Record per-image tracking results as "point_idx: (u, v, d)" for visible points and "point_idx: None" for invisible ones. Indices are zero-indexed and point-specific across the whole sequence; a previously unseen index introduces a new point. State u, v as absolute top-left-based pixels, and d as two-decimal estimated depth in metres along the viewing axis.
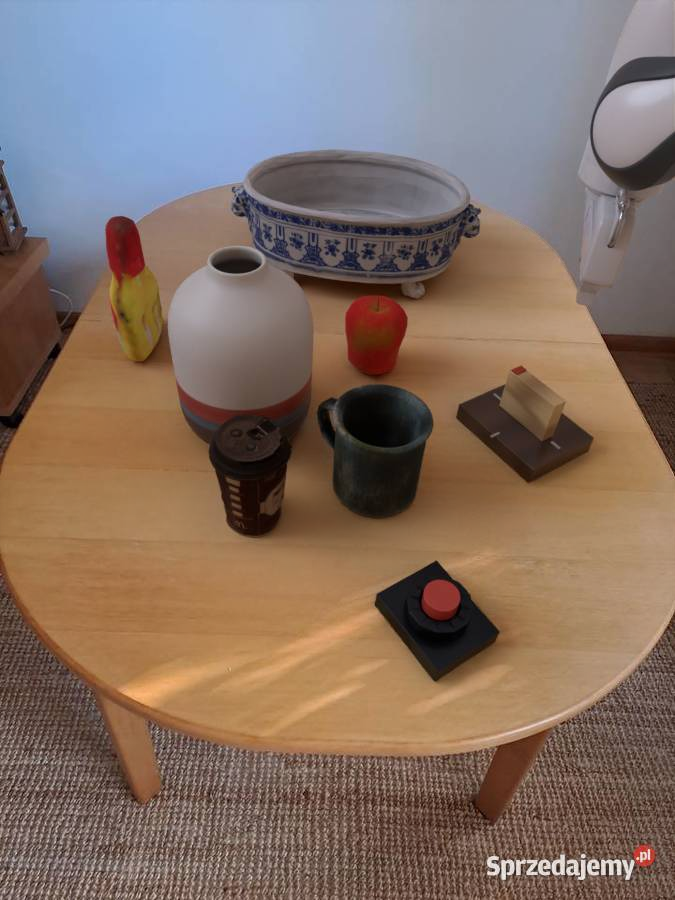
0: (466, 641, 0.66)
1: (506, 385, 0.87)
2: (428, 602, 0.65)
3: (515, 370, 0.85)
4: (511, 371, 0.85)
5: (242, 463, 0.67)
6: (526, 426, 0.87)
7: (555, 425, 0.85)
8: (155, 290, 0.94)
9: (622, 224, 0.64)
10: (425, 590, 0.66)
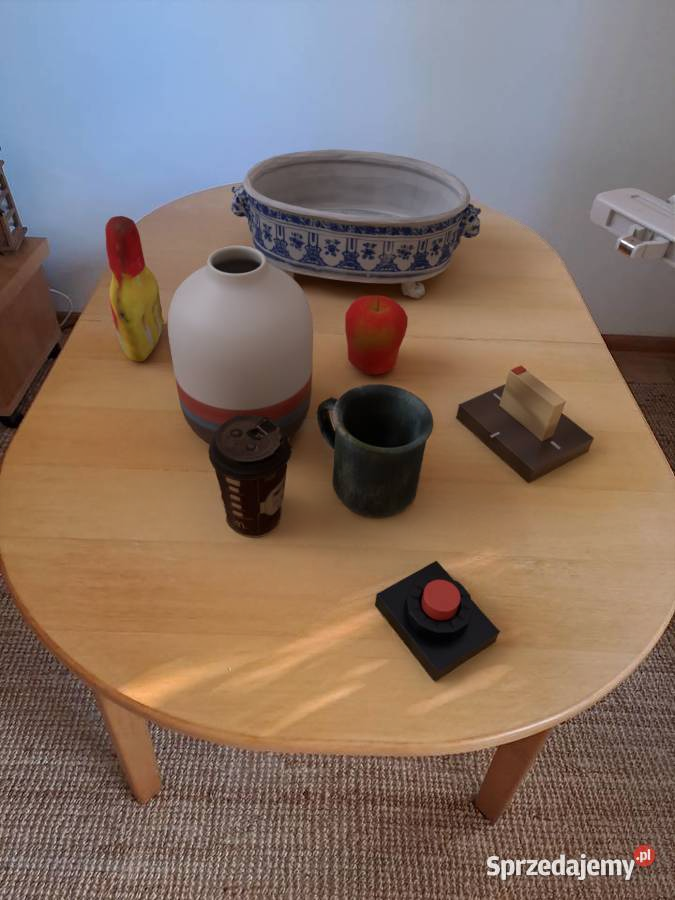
0: (466, 641, 0.66)
1: (506, 385, 0.87)
2: (428, 602, 0.65)
3: (515, 370, 0.85)
4: (511, 371, 0.85)
5: (242, 463, 0.67)
6: (526, 426, 0.87)
7: (555, 425, 0.85)
8: (155, 290, 0.94)
9: None
10: (425, 590, 0.66)
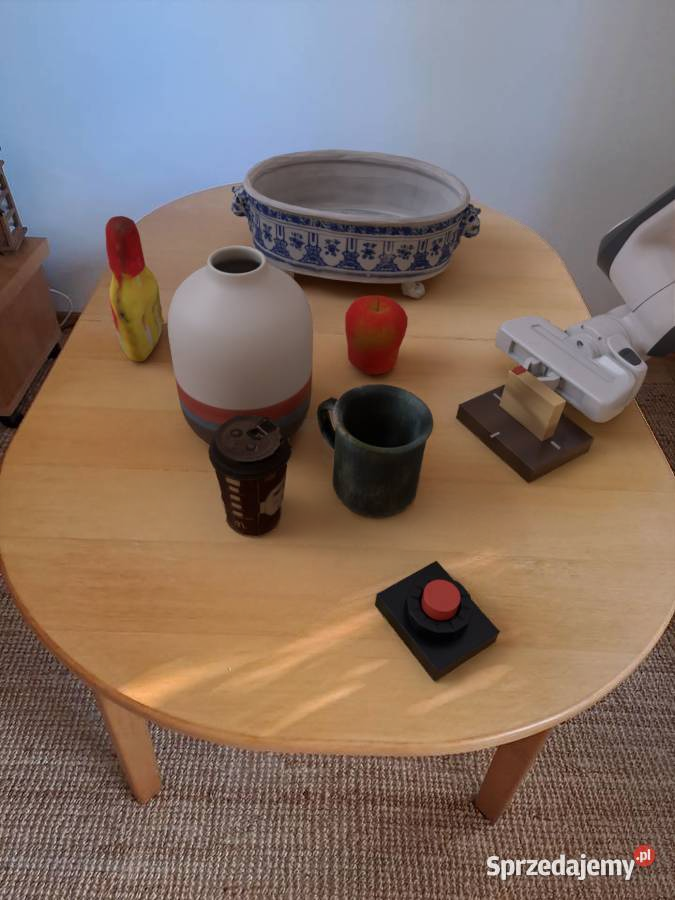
0: (466, 641, 0.66)
1: (506, 385, 0.87)
2: (428, 602, 0.65)
3: (515, 370, 0.85)
4: (511, 371, 0.85)
5: (242, 463, 0.67)
6: (526, 426, 0.87)
7: (555, 425, 0.85)
8: (155, 290, 0.94)
9: None
10: (425, 590, 0.66)
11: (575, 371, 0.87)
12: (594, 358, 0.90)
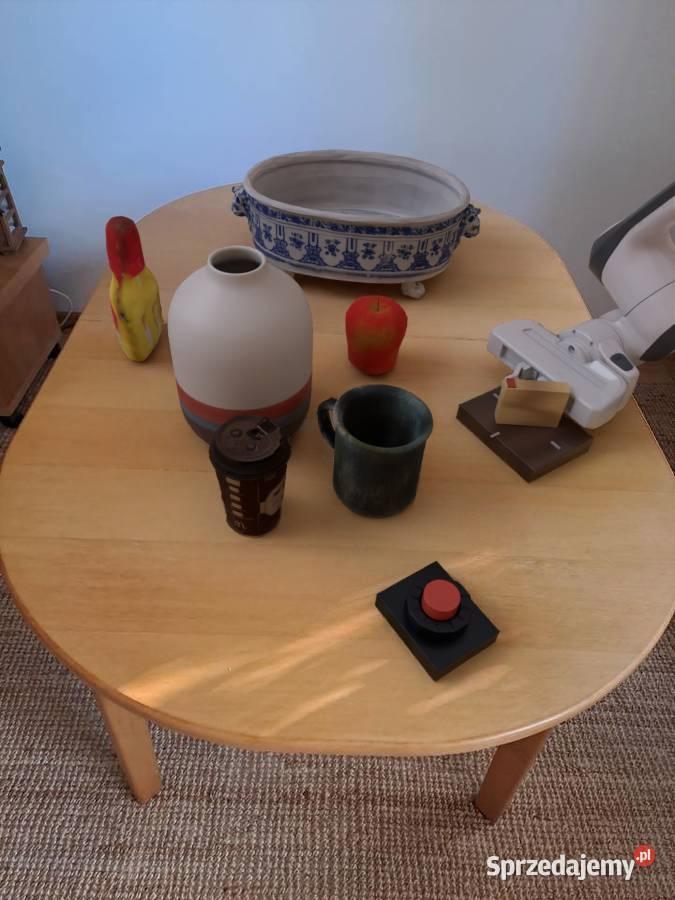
0: (466, 641, 0.66)
1: (504, 402, 0.85)
2: (428, 602, 0.65)
3: (511, 385, 0.83)
4: (508, 388, 0.83)
5: (242, 463, 0.67)
6: (535, 424, 0.87)
7: None
8: (155, 290, 0.94)
9: None
10: (425, 590, 0.66)
11: (566, 377, 0.86)
12: (585, 363, 0.89)
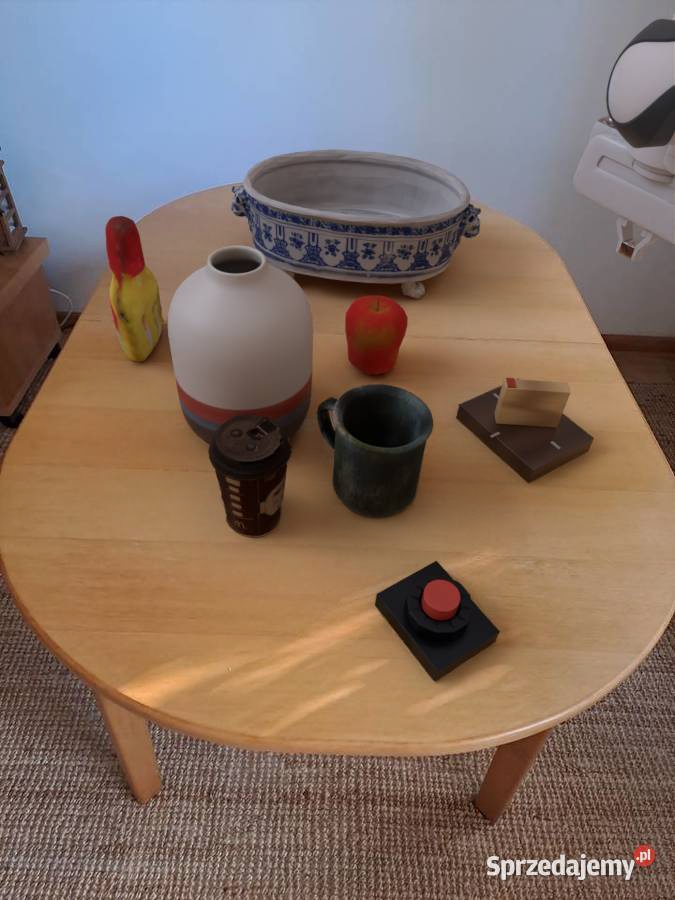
0: (466, 641, 0.66)
1: (504, 402, 0.85)
2: (428, 602, 0.65)
3: (511, 385, 0.83)
4: (508, 388, 0.83)
5: (242, 463, 0.67)
6: (535, 424, 0.87)
7: None
8: (155, 290, 0.94)
9: (594, 125, 0.80)
10: (425, 590, 0.66)
11: (661, 222, 0.75)
12: (671, 180, 0.73)
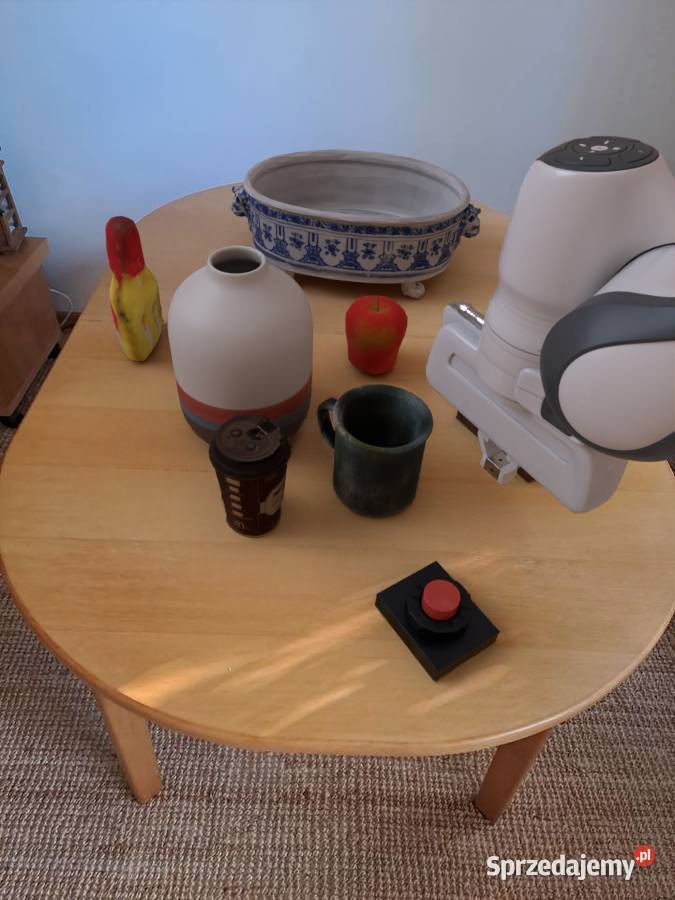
0: (466, 641, 0.66)
1: None
2: (428, 602, 0.65)
3: None
4: None
5: (242, 463, 0.67)
6: None
7: None
8: (155, 290, 0.94)
9: None
10: (425, 590, 0.66)
11: (524, 454, 0.55)
12: None
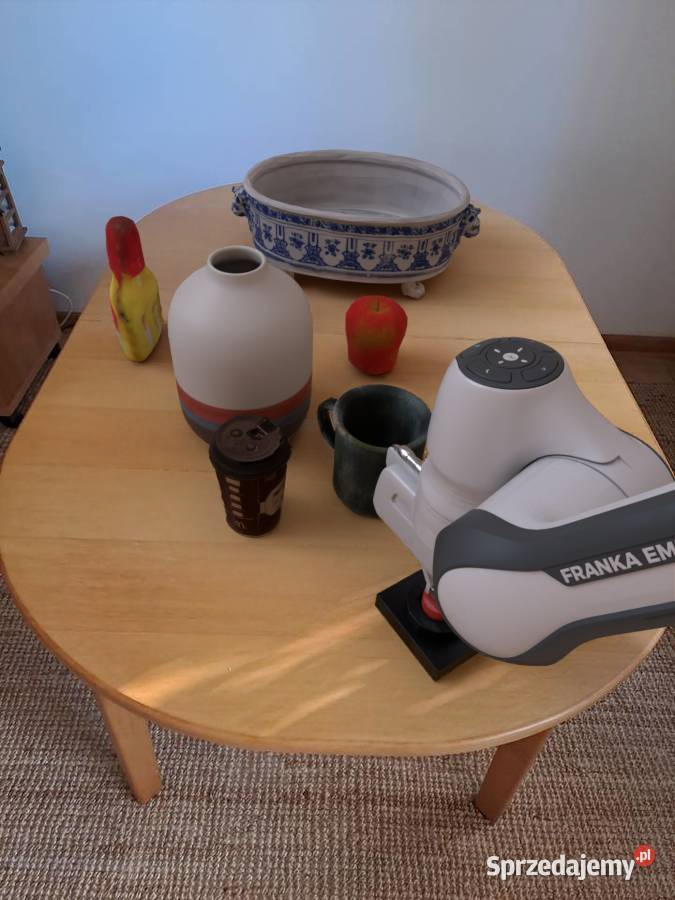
0: None
1: None
2: (427, 604, 0.65)
3: None
4: None
5: (242, 463, 0.67)
6: None
7: None
8: (155, 290, 0.94)
9: (388, 449, 0.63)
10: (424, 592, 0.66)
11: None
12: None
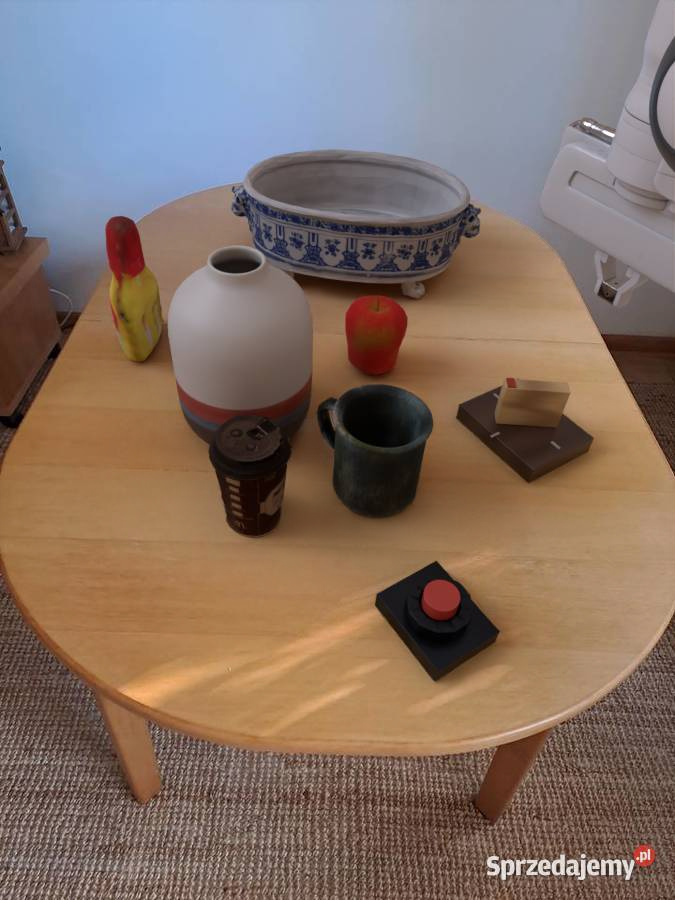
0: (466, 641, 0.66)
1: (504, 402, 0.85)
2: (428, 602, 0.65)
3: (511, 385, 0.83)
4: (508, 388, 0.83)
5: (242, 463, 0.67)
6: (535, 424, 0.87)
7: None
8: (155, 290, 0.94)
9: (565, 131, 0.61)
10: (425, 590, 0.66)
11: (651, 260, 0.57)
12: (665, 206, 0.54)
